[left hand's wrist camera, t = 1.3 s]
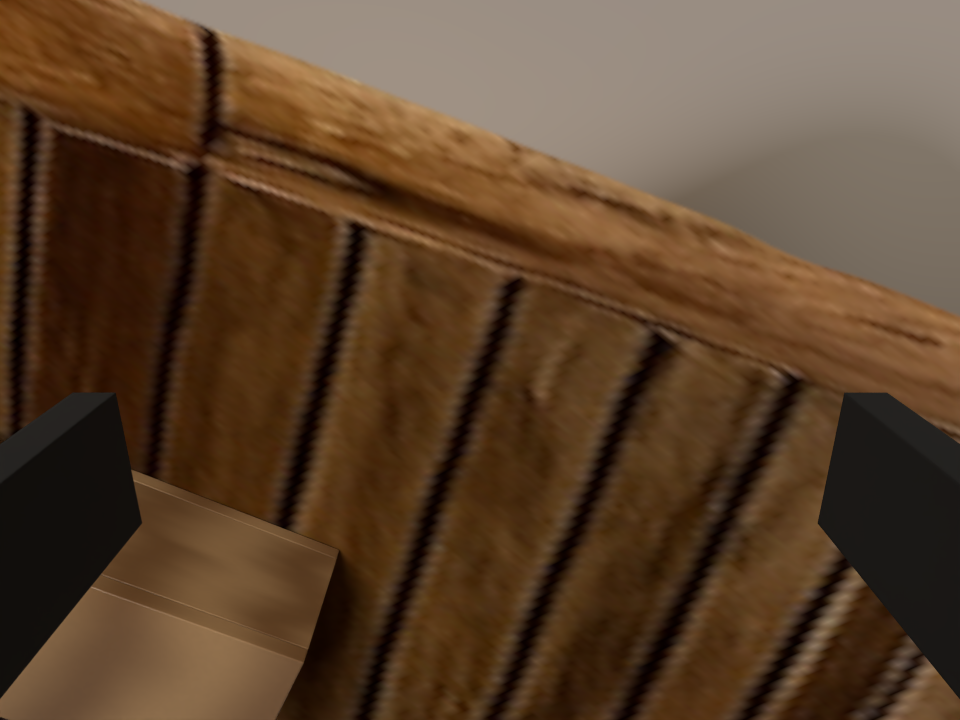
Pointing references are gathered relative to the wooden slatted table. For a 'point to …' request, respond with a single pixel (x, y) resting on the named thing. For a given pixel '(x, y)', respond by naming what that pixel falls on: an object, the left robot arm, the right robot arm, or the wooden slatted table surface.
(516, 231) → the wooden slatted table surface
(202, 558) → the cabinet
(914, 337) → the wooden slatted table surface
